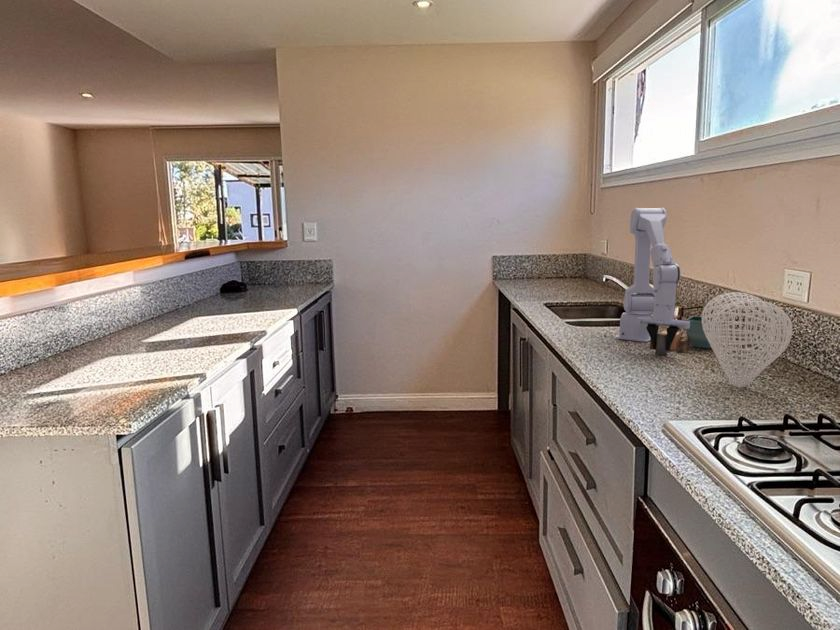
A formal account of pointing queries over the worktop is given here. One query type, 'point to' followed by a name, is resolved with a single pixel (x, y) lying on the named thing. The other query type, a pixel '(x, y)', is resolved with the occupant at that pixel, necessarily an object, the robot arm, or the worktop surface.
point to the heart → (715, 342)
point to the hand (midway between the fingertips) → (661, 349)
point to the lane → (683, 343)
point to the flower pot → (698, 332)
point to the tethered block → (662, 341)
